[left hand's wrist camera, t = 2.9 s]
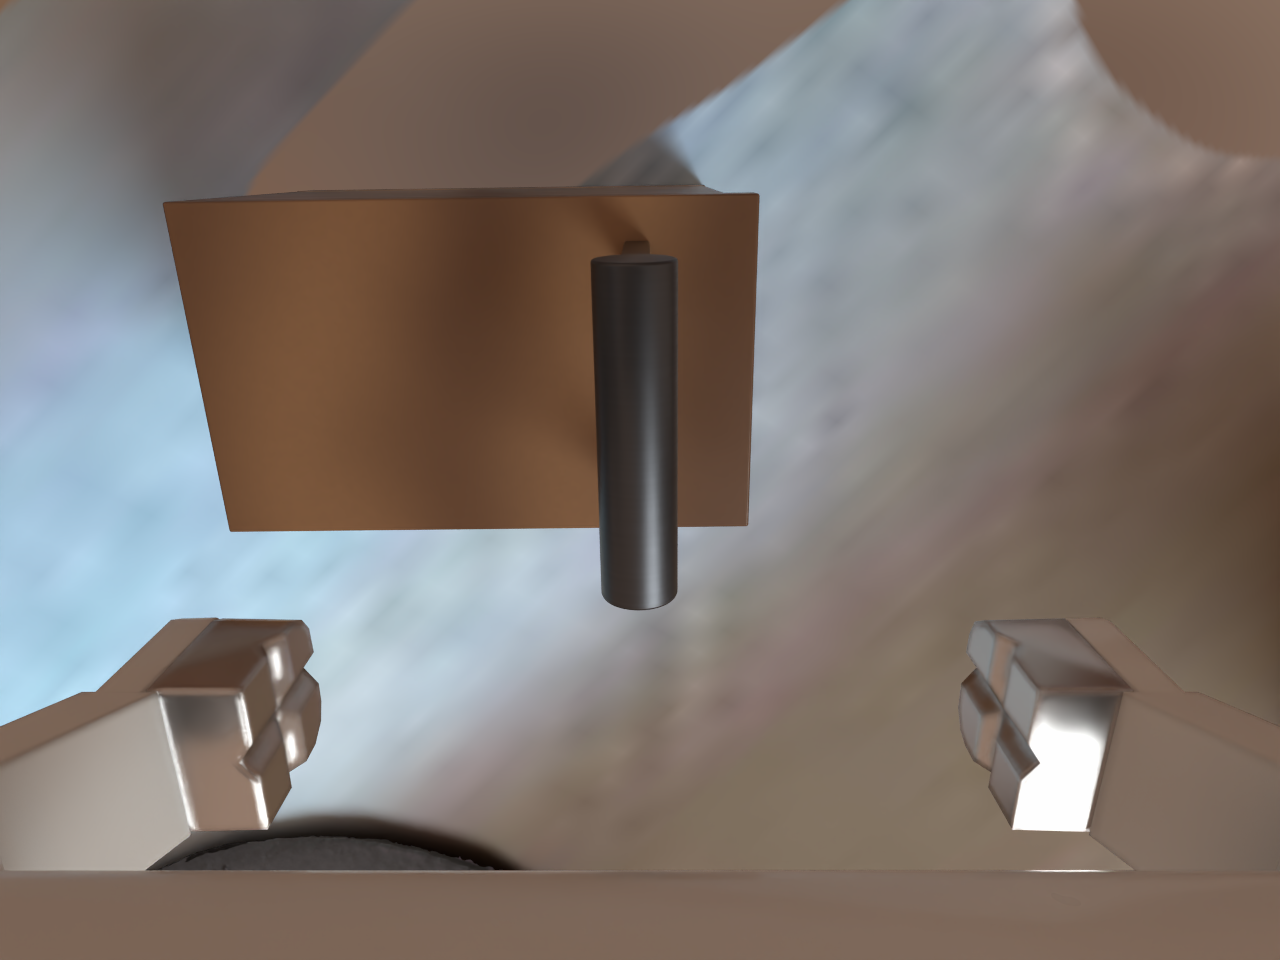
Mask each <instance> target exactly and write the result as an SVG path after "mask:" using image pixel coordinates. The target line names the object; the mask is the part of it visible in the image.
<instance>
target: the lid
mask: <svg viewBox="0 0 1280 960" xmlns="http://www.w3.org/2000/svg"><path fill="white" fill-rule="evenodd" d="M163 207H164V212H165V217H166V222H167V227H168V232H169V236H170V241H171V246H172V251H173V256H174V261H175V266H176V271H177V275H178V280H179V285H180V290H181V295H182V300H183V305H184V310H185V315H186V319H187V324H188V329H189V334H190V339H191V344H192V349H193V354H194V358H195V363H196V368H197V373H198V378H199V383H200V388H201V393H202V398H203V402H204V407H205V412H206V417H207V422H208V427H209V432H210V437H211V442H212V446H213V451H214V456H215V461H216V466H217V471H218V476H219V481H220V485H221V490H222V495H223V500H224V505H225V510H226V515H227V520H228V525H229V529H230V531H231V532H249V531H341V530H433V529H525V528H599V531H600V560H601V589H602V595H603V597H604V599H605V600H606V601H607V602H608V603H610V604H612V605H614V606H616V607H619V608H623V609H628V610H649V609H654V608H658V607H661V606H664V605H666V604H668V603H670V602H671V601H672V600H673V599H674V598H675V596H676V594H677V540H678V527H709V526H747V525H748V513H749V484H750V455H751V426H752V397H753V368H754V340H755V311H756V282H757V253H758V224H759V194H757V193H754V192H752V193H683V194H615V195H546V196H478V197H409V198H341V199H272V200H204V201H172V202H164V203H163Z"/></svg>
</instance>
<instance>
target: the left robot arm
mask: <svg viewBox="0 0 1280 960" xmlns="http://www.w3.org/2000/svg"><path fill="white" fill-rule="evenodd" d="M313 652H314V651H313V646H312V641H311V636H310V631H309V628H308V627H307V626H306V624H305V623H304V622H303V621H302V620H277V619H224V618H223V619H218V618H182V619H175V620H171V621H170V622H168V623H167V624H166V625H165V626H164V627H163V628H162V629H161V630H160V631H159V632H158V633H157V634H156V635H155V636H154V637H153V638H152V639H151V640H150V641H149V642H148V643H146V644H145V645H144V646H143V647H142V648H141V649H140V650H139V651H138V652H137V653H136V654H135V655H134V656H133V657H132V658H131V659H130V660H129V661H128V662H127V663H125V664H124V665H123V666H122V667H121V668H120V669H119V670H118V671H117V672H116V673H115V674H114V675H113V676H112V677H111V678H110V679H109V680H108V681H107V682H106V683H105V684H103V685H102V686H101V687H100V688H99V689H98V690H97V691H96V692H81V693H78V694H76V695H74V696H71V697H69V698H67V699H64V700H62V701H60V702H57V703H55V704H52V705H50V706H48V707H45V708H43V709H41V710H38V711H36V712H34V713H31V714H29V715H26V716H24V717H22V718H19V719H17V720H15V721H12V722H10V723H7V724H5V725H3V726H0V960H1280V727H1279V726H1277V725H1275V724H1272V723H1270V722H1268V721H1265V720H1263V719H1261V718H1258V717H1256V716H1253V715H1251V714H1249V713H1246V712H1244V711H1242V710H1239V709H1237V708H1235V707H1232V706H1230V705H1227V704H1225V703H1223V702H1220V701H1218V700H1216V699H1213V698H1211V697H1209V696H1206V695H1204V694H1202V693H1199V692H1184V691H1183V690H1182V689H1181V688H1180V687H1179V686H1178V685H1177V684H1176V683H1175V682H1173V681H1172V680H1171V679H1170V678H1169V677H1168V676H1167V675H1166V674H1165V673H1164V672H1163V671H1162V670H1161V669H1160V668H1159V667H1158V666H1157V665H1156V664H1155V663H1154V662H1153V661H1152V660H1150V659H1149V658H1148V657H1147V656H1146V655H1145V654H1144V653H1143V652H1142V651H1141V650H1140V649H1139V648H1138V647H1137V646H1136V645H1135V644H1134V643H1133V642H1132V641H1131V640H1130V639H1129V638H1127V637H1126V636H1125V635H1124V634H1123V633H1122V632H1121V631H1120V630H1119V629H1118V628H1117V627H1116V626H1115V625H1114V624H1113V623H1112V622H1111V621H1109V620H1106V619H1103V618H1099V617H1098V618H1074V619H1027V620H986V621H977V622H975V623H974V625H973V627H972V630H971V632H970V634H969V640H968V646H967V651H966V652H967V654H968V655H969V657H970V658H971V660H972V661H973V663H974V665H975V666H976V669H975V670H974V671H973V672H972V673H971V674H970V675H969V676H968V677H967V678H966V679H965V680H964V681H963V682H962V683H961V691H960V699H959V707H958V708H959V719H960V729H961V733H962V736H963V739H964V743H965V746H966V748H967V750H968V752H969V753H970V755H971V757H972V759H973V761H974V762H976V763H977V764H979V765H981V766H982V767H984V768H985V769H987V770H988V771H990V772H991V775H990V781H989V786H988V788H989V789H990V791H991V793H992V795H993V796H994V798H995V800H996V802H997V803H998V805H999V807H1000V809H1001V810H1002V812H1003V814H1004V816H1005V817H1006V819H1007V821H1008V823H1009V824H1010V826H1011V828H1012V829H1015V830H1052V831H1089V835H1090V836H1091V837H1092V838H1094V839H1095V840H1096V841H1098V842H1099V843H1100V844H1102V845H1103V846H1104V847H1105V848H1107V849H1108V850H1109V851H1111V852H1112V853H1113V854H1115V855H1116V856H1117V857H1119V858H1120V859H1121V860H1122V861H1124V862H1125V863H1126V864H1128V865H1129V866H1130V867H1132V868H1133V869H1134V870H777V871H563V870H562V871H561V870H560V871H559V870H558V871H557V870H556V871H555V870H553V871H552V870H549V871H548V870H146V869H147V868H149V867H150V866H151V865H153V864H154V863H155V862H156V861H158V860H159V859H160V858H162V857H163V856H164V855H166V854H167V853H168V852H170V851H171V850H172V849H174V848H175V847H176V846H177V845H179V844H180V843H181V842H183V841H184V840H185V839H187V838H188V837H189V836H190V835H191V833H190V832H191V831H227V830H262V829H268V828H269V826H270V825H271V823H272V821H273V819H274V818H275V816H276V814H277V812H278V811H279V809H280V807H281V805H282V804H283V802H284V800H285V798H286V796H287V795H288V793H289V791H290V789H291V788H292V786H291V781H290V775H289V772H290V771H292V770H293V769H295V768H296V767H298V766H299V765H301V764H303V763H304V762H306V761H307V759H308V757H309V755H310V753H311V751H312V750H313V748H314V746H315V744H316V739H317V735H318V731H319V727H320V722H321V696H320V689H319V683H318V682H317V681H316V680H315V679H314V678H313V677H312V676H311V675H310V674H309V673H308V672H307V671H306V670H305V669H304V666H305V665H306V663H307V661H308V660H309V658H310V657H311V655H312V654H313Z"/></svg>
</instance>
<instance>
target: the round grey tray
mask: <svg viewBox="0 0 1280 960" xmlns="http://www.w3.org/2000/svg"><path fill="white" fill-rule="evenodd" d="M257 841H258V840H257ZM257 841H254V842H243V843H242V842H240V843H233V844H226V845H223V846H221V847H217V848H214V849H210V850H206V851H204V852H198V853H196V854H194V855H190V856H187V857H185V858H184V859H181V860H180V861H179V862H176V863H173V864H172V865H170V866H168V865H167V866H166V867H163V868H161V869H159V870H494V869H493V867H489V866H488V867H480V866H479V865H477V864H474V863H473V861H472V860H465V861H463V860H462V859H461V858H460V856H459V858H456V857H449V856H446V855H445V854H439V853H438V852H436V851H432V850H431V852H430V853H429V852H428V850H427V849H426V850H425V849H423V850H422V849H421V848H419V847H415V846H412V845H411V847H409V846H407V845H405V846H403V845H402V844H397V842H395V843H393V842H391V841H389V840H386V839H382V840H379V839H359V838H358V839H355V838H354V837H351V838H348V837H341V836H340V837H338V836H335V837H332V836H331V837H329V836H325V837H324V836H322V835H321V836H319V837H316V836H309V837H303V836H301V837H297V838H295V837H293V838H275V839H269V840H266V841H259V842H257ZM500 870H501V869H500Z"/></svg>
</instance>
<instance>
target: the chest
mask: <svg viewBox="0 0 1280 960" xmlns="http://www.w3.org/2000/svg"><path fill="white" fill-rule="evenodd" d="M683 193H722V192H719V191H716V190H714V189H711V188H708V187H705V186H704V185H655V186H587V187H519V188H451V189H383V190H315V191H298V192H290V193H277V194H263V195H250V196H237V197H224V198H211V199H198V200H185V201H204V200H272V199H341V198H409V197H478V196H546V195H615V194H683Z"/></svg>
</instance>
